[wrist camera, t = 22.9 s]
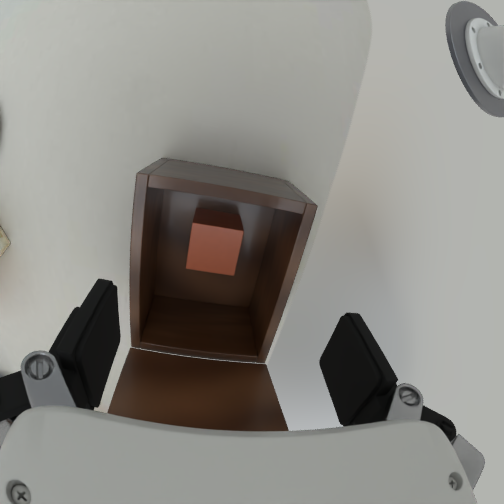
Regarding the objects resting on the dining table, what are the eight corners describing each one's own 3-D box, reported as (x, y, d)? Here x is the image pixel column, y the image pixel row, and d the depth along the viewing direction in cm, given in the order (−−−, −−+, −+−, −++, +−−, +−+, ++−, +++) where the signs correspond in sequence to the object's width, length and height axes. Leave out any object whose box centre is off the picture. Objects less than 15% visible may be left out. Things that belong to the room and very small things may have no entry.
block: (196, 207, 27) (192, 222, 23) (240, 214, 28) (244, 231, 24) (189, 248, 29) (185, 268, 25) (231, 254, 29) (234, 276, 26)
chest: (161, 157, 25) (136, 172, 17) (289, 181, 28) (318, 205, 20) (147, 294, 31) (131, 347, 23) (253, 309, 34) (264, 363, 26)
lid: (81, 508, 7) (102, 533, 8) (322, 519, 10) (292, 542, 11) (130, 347, 23) (131, 388, 24) (266, 363, 25) (254, 402, 27)
